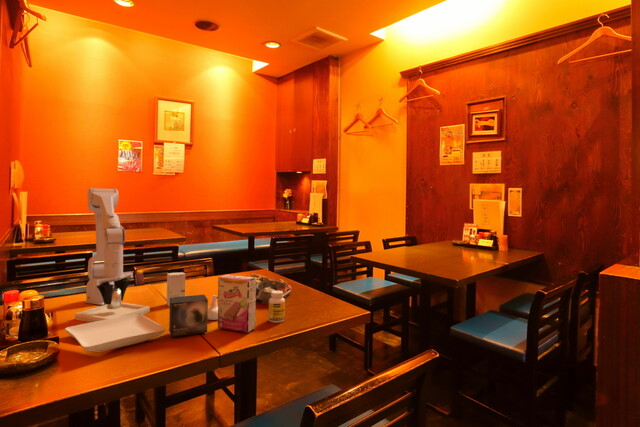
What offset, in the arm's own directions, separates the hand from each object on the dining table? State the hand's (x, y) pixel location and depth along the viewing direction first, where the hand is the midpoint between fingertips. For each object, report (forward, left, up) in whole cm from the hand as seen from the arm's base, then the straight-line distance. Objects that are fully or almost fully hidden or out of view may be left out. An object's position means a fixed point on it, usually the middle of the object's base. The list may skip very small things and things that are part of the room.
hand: (113, 302), depth 128 cm
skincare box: (+10, +19, -5) cm, 22 cm away
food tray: (+35, +38, -6) cm, 52 cm away
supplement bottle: (+54, +17, -5) cm, 57 cm away
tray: (0, 0, -5) cm, 5 cm away
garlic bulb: (+33, +11, -5) cm, 35 cm away
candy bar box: (+46, +5, -5) cm, 47 cm away
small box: (+34, -3, -5) cm, 34 cm away
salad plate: (+18, -15, -5) cm, 24 cm away
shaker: (0, 0, -2) cm, 2 cm away
